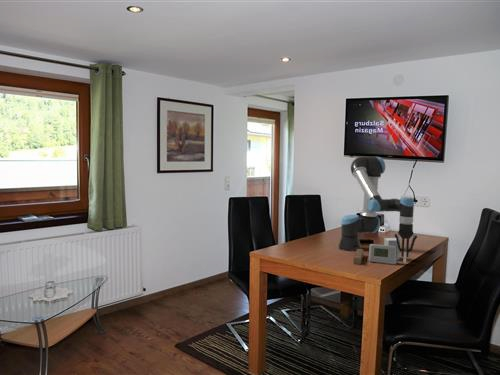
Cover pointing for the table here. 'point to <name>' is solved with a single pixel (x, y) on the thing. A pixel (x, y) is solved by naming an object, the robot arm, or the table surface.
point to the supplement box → (392, 244)
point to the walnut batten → (358, 256)
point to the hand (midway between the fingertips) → (404, 262)
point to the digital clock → (383, 254)
